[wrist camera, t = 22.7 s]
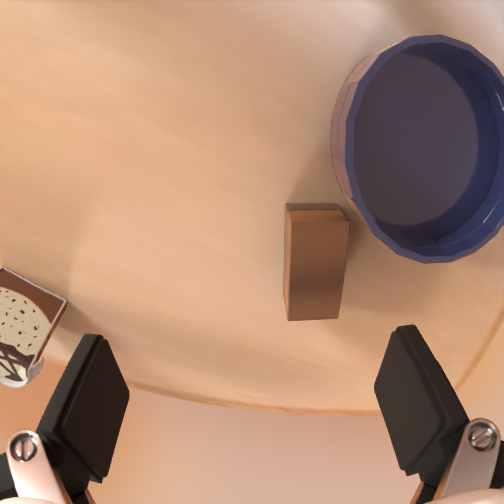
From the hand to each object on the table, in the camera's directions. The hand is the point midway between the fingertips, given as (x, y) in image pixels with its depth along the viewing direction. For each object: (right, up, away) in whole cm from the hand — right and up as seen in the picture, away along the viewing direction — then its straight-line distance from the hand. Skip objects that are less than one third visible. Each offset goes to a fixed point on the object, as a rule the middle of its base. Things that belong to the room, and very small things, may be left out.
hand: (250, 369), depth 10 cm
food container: (-24, -2, +19) cm, 31 cm away
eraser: (+5, +4, +16) cm, 17 cm away
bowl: (+14, +12, +12) cm, 22 cm away
